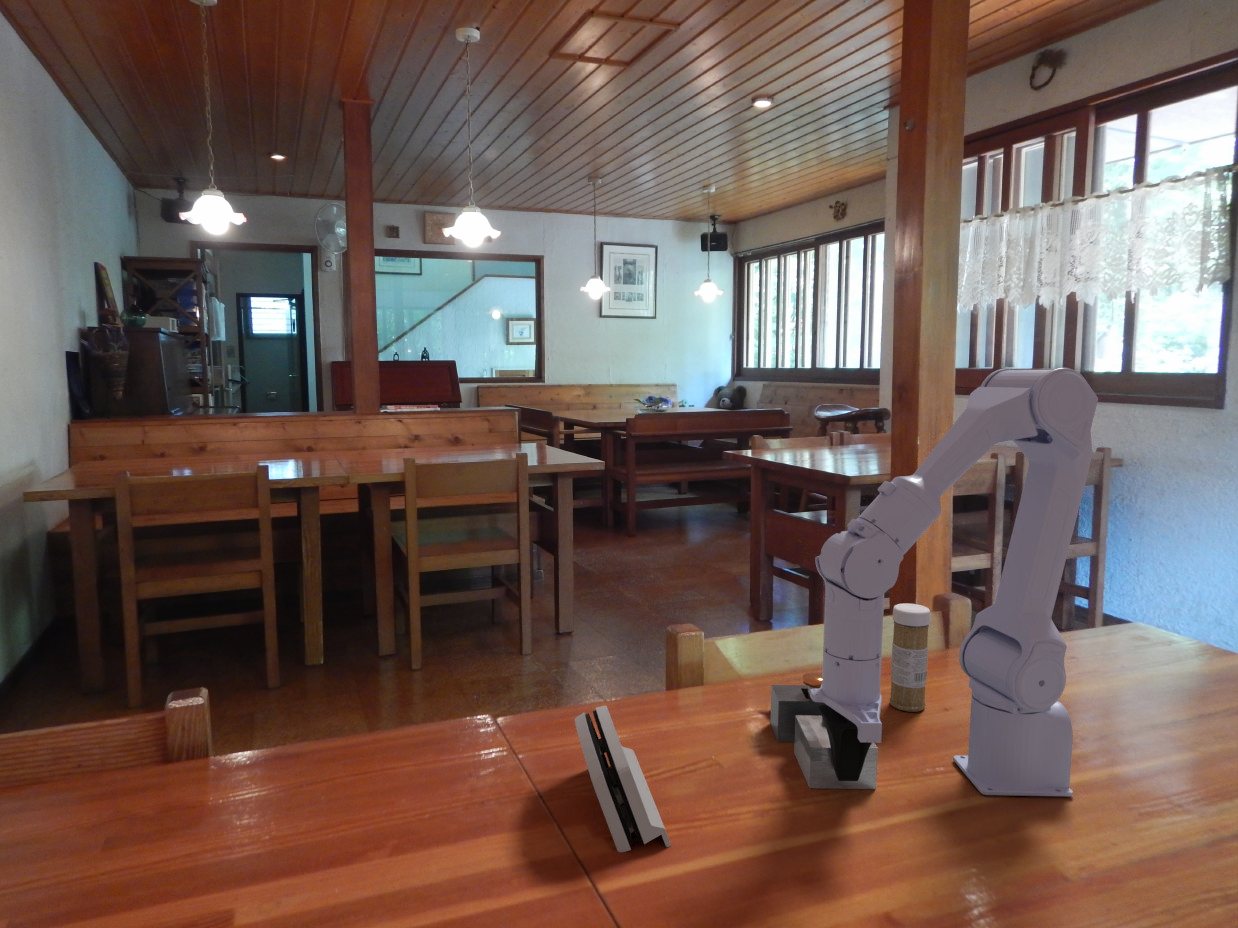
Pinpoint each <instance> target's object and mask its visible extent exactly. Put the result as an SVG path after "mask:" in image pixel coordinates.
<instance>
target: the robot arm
mask: <svg viewBox="0 0 1238 928" xmlns="http://www.w3.org/2000/svg"><path fill="white" fill-rule="evenodd" d="M1098 402H1099V398H1098V396H1097V394H1096V393H1095V391H1094V390H1093V389H1092V387H1091V386H1090V384H1089V383H1088V381H1087V380H1086V379H1085V377H1084V376H1083V375H1082V374H1081V373H1080V372H1079V371H1077V370H1076V369H1072V368H1069V367H1059V368H1055V369H1012V368H1000V369H997V370H995V371H993V372H991V373H990V374H988V375H987V376H986V378H985V379H984V380H983V381H982V383H981V384H980V386H978V387H976V388H975V389H974V390H973V391H972V392H971V393H970V394H969V397H968V401H967V405H966V407H965V409H964V410H963V412H962V413H961V414H960V415H959V417H958V418H957V419H956V421H955V422H953V424H952V426H951V427H950V428H949V429H948V431H946V433H945V434H944V436H943V437H942V438H941V440H939V442H938V443H937V444H936V445H935V447H934V448H932V451H931V452H930V453H929V454H928V456H927V457H926V458H925V459H924V460H923V462H922V463H921V464H920V466H919V467H918V468H917V469H916V470H915V472H914V473H913V474H911V475H905V476H904V475H903V476H901V475H900V476H895V477H894V478H893V479H892V480H891V481H887V480H885V481H883V483H882V484H881V485H880V486H879V487H877V491H878V493H879V494H878V495H877V496H876V497H875V498H874V499H873V501H872V502H871V503H870V504H869V505H868V506H866V508H865V509H864V511H863V512H861V513H860V515H859V516H858V517H857V518H856V519H855V518H852V519H851V520H850V521H849V522H848V524H847V530H843V531H840V533H838V532H836V533H834V534H833V535H831V536H830V537H829V538H828V539H827V540H826V541H825V542H824V544H823V545H822V547H821V550H820V554H819V555H818V556H815V558H814V562H815V563H814V564H815V566H816V570H817V572H818V574H819V575H820V577H821V578H822V579H823V581H824V587H825V588H824V596H825V597H824V622H823V650H822V653H823V654H822V670H821V671H822V684H821V687H820V688H818V689H810V697H811V699H812V700H813V701H814V702H823V703H825V704H826V705H821V706H819V708H818V709H819V711H820V713H821V716H822V718H823V720H824V723H825V726H826V729H827V733H828V737H829V741H830V747H831V753H832V759H833V765H834V770H835V774H836V777H837V778H838V780H839V781H858V780H859V777H860V774H861V771H862V768H863V764H864V761H865V758H866V755H867V752H868V750H869V747H870V745H871V744H872V743H875V744H876V743H878V744H879V743H882V731H883V721H882V720H881V719H880V717H881V712H882V711H881V710H882V702H883V701H882V699H883V696H882V693H881V680H882V679H881V678H882V656H883V654H882V652H883V651H882V650H883V632H884V631H883V630H884V612H885V611H884V610H885V609H884V608H885V593H886V592H887V591H889V589H892V588H893V587H894V586H895V584H896V582H897V581H898V577H899V572H900V564H901V563H902V562H903V560H904V559H905V558H904V555H905V554H906V553H907V552H908V551H909V550H910V549H911V548H912V547H913V546H914V544H915V543H916V542H917V541H918V540H919V539H920V538H921V537H922V535H924V533H926V531H927V530H928V529H929V528H930V527H931V526H932V524H933V523H935V522H936V520H937V519H938V518H939V517H940V516H941V514H942V506H941V505H942V504H941V503H942V502H941V497H942V496H944V494H945V493H946V492H947V491H948V490H949V489H950V488H951V487H952V486H953V485H954V484H956V482H957V481H958V480H960V478H962V476H964V474H966V473H967V472H968V471H969V470H970V469H971V468H972V467H973V466H974V465H975V464H976V463H977V462H978V461H980V459H981V458H982V457H983V456H985V454H987V452H988V451H990V450H991V449H992V447H994V446H995V445H996V444H999V443H1003V442H1008V441H1012V442H1013V443H1014V444H1015V445H1016V446H1017V447H1018V448H1019V449H1020V451H1021V452H1022V454H1023V455H1024V457H1026V460H1027V461H1028V468H1027V472H1026V475H1025V479H1024V484H1023V489H1022V491H1021V492H1022V493H1021V495H1020V500H1019V504H1018V508H1017V512H1016V517H1015V521H1014V524H1013V529H1012V533H1011V537H1010V541H1009V545H1008V549H1007V552H1006V556H1005V561H1004V564H1003V569H1002V573H1001V577H1000V581H999V585H998V587H997V588H998V589H997V593H996V597H995V600H994V603H993V604H991V605H990V606H988V607H986V608H984V609H983V610H981V611H979V612H978V613H977V614H976V615H975V618H974V622H973V625H972V628H971V629H970V631H969V633H968V634H967V635H966V636H965V637H964V639H963V641H962V642H961V645H960V648H959V652H958V661H959V666H960V669H962V671H963V673H964V674H965V675H966V676H967V677H969V681H968V683H969V684H968V687H969V688H970V689H971V697H970V698H971V699H970V714H969V715H970V717H969V720H970V721H969V735H968V736H969V738H968V749H967V750H968V753H967V755H957V754H956V755H954V756H953V757H952V759H953V762H955V764H956V765H957V766H958V767H959V768H960V770H961V771H962V772H963V774H964V775H965V776H966V777H967V778H968V779H969V781H971V783H972V784H973V785H974V787H975V788H976V789H977V790H978V791H979V793H980V794H982V795H985V796H1019V797H1020V796H1022V797H1023V796H1026V797H1073V796H1074V791H1073V790H1072V789H1071V788H1070V786H1071V785H1070V784H1071V783H1070V782H1071V772H1072V771H1071V769H1072V755H1073V745H1074V743H1073V742H1074V741H1073V740H1074V735H1073V734H1074V733H1073V724H1072V720H1071V717H1070V714H1069V712H1068V711H1067V709H1066V707H1065V706H1064V704H1063V703H1062V702H1060V701H1059V700H1060V698H1061V696H1062V695H1063V694H1064V693H1063V692H1064V690H1065V688H1066V682H1067V673H1066V668H1065V657H1066V652H1067V648H1068V646H1067V643H1066V642H1065V641H1066V640H1064V638H1063V636H1062V634H1061V633H1060V631H1059V630H1058V628H1057V627H1056V625H1055V623H1054V621H1053V620H1052V617H1053V614H1054V613H1053V612H1054V608H1055V605H1056V601H1057V596H1058V594H1059V588H1060V585H1061V582H1062V577H1063V572H1064V569H1065V565H1066V561H1067V558H1068V553H1069V549H1070V545H1071V543H1072V542H1071V541H1072V538H1073V534H1074V530H1075V526H1076V522H1077V518H1078V514H1079V510H1080V505H1081V503H1082V499H1083V493H1084V490H1085V486H1086V484H1087V483H1086V482H1087V479H1088V475H1089V471H1090V467H1091V462H1092V457H1093V444H1092V433H1091V429H1092V425H1093V420H1094V419H1095V413H1096V410H1097V407H1098V406H1097V405H1098Z"/></svg>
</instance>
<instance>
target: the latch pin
mask: <svg viewBox="0 0 1238 928" xmlns="http://www.w3.org/2000/svg"><path fill="white" fill-rule="evenodd" d="M802 683H803V685H807V686H808V699H811V697H810V689H818V688H820V687H821V684H822V673H821V672H807V673H804V674H803V675H802Z"/></svg>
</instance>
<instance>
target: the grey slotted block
mask: <svg viewBox="0 0 1238 928" xmlns="http://www.w3.org/2000/svg"><path fill="white" fill-rule="evenodd" d="M592 714H593V718H594V721H595V724H596V725H595V726H596V727H597V730H598V734H599V736H598V734H597V730H596V728H595V726H594V722H593V720H592V718H591V715H590V713H585V712H582V713H581V714H579V715H577V716H576V717H575V718H574V724H575V728H576V732H577V736H578V739H579V743H580V746H581V751H582V753H583V757H584V760H585V763H586V767H587V770H588V773H589V776H590V777H589V778H590V781H591V783H592V786H593V789H594V791H595V794H596V798H597V800H598V802H599V805H600V808H601V811H602V812H603V816H604V818H605V821H606V824H607V826H608V830H609V832H610V834H611V837H612V840H613V841H614V845H615V848H616V851H617V852H618V853H626V852H629V851H631V850H632V849H631V845H634V844H635V842H634V839H633V836H632V833H633V832H634V833H635V836H636V839H637V842H641V841H643V844H644V845H646V844H647V843H650V841H652V840H654V839H656V838H658V837H659V836H661V837H662V840H663V842H664V845H665V847H666V848H669V847H672V843H671V841H670V838H669V835H668V832H667V830H666V827H665V826H664V823H663V820H662V818H661V815H660V813H659V810H658V808H657V805H656V803H655V800H654V797H653V796H652V792H651V790H650V788H649V785H648V783H647V780H646V778H645V775H644V773H643V770H642V768H641V766H640V763H639V761H638V757H637V755H636V753H635V751H634V750H633V748H632V749H631V748H628V747H625V746H623V745H622V743H621V740H620V737H619V735H618V732H617V729H616V727H615V724H614V722H613V719H612V716H611V714H610V712H609V709H608V706H607V705H606V704H605V705H601V706H597V707H595V710H592ZM599 737H600V738H599ZM606 757H607V758H606ZM609 765H610V766H609ZM623 804H624V805H623Z"/></svg>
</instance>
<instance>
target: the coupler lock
mask: <svg viewBox="0 0 1238 928" xmlns="http://www.w3.org/2000/svg"><path fill="white" fill-rule="evenodd" d="M793 744H794V746H793V747H794V748H793V753H794V756H795V758H796V761H797V762H798V766H799V768H800V770H801V772H802V774H803V777H804V779H805V781H806V783H807V785H808V788H809V789H836V790H837V789H841V790H843V789H844V790H846V789H847V790H849V789H850V790H877V779H878V759H879V758H878V754H879V747H878V746H877V745H876V743H875V742H874V743H872V744H871V745H870V747H869V750H868V752H867V755H866V758H865V761H864V764H863V768H862V771H861V774H860V777H859V780H858V781H839V780H838V778H837V777H836V774H835V770H834V765H833V759H832V753H831V747H830V741H829V737H828V733H827V729H826V726H825V723H824V720H823V718H822V716H810V715H795V740H794V742H793Z"/></svg>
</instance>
